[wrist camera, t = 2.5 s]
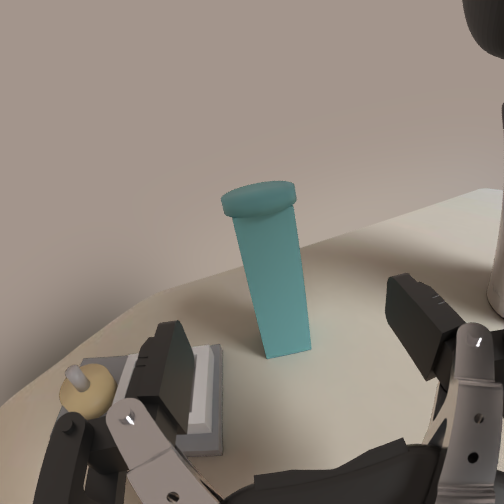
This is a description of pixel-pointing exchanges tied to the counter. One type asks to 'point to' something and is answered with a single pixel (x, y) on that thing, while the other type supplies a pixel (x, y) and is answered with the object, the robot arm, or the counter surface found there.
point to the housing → (116, 384)
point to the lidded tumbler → (272, 263)
